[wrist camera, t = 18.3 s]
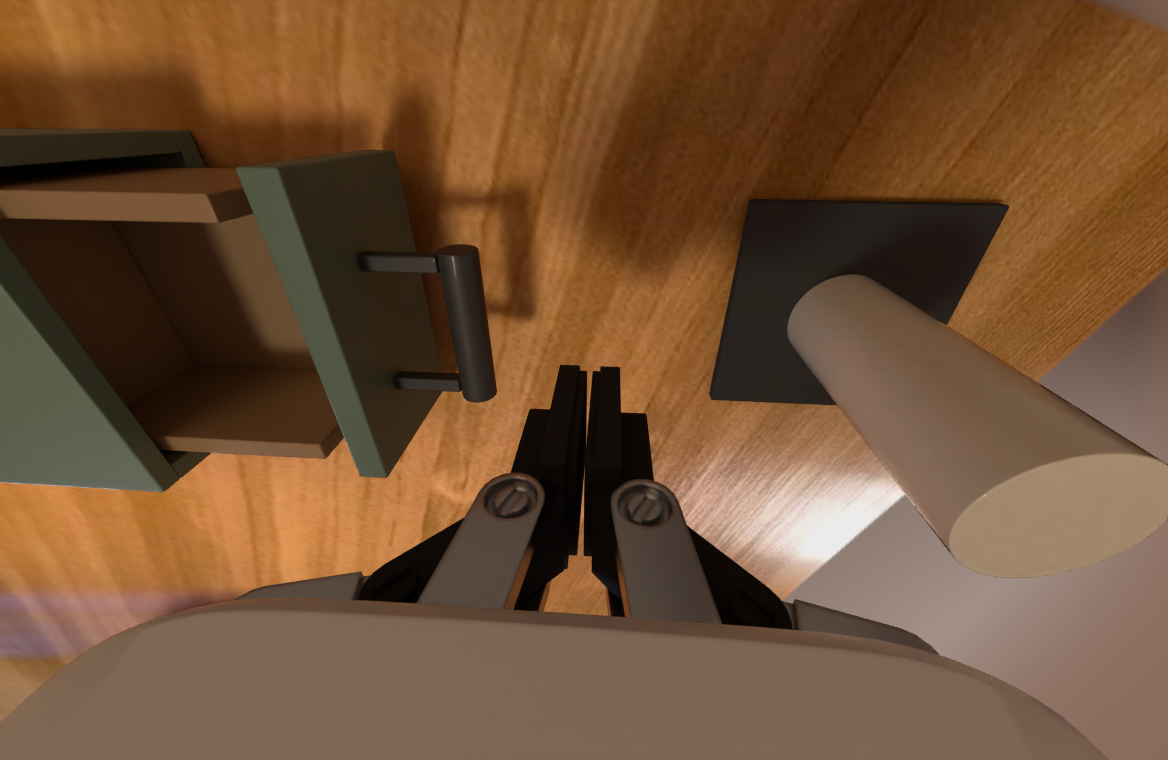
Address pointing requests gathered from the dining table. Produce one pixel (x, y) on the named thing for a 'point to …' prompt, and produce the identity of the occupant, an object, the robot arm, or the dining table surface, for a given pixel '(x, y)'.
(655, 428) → the dining table surface
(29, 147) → the cabinet
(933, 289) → the mat
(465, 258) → the drawer
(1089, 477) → the cylinder
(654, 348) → the dining table surface
